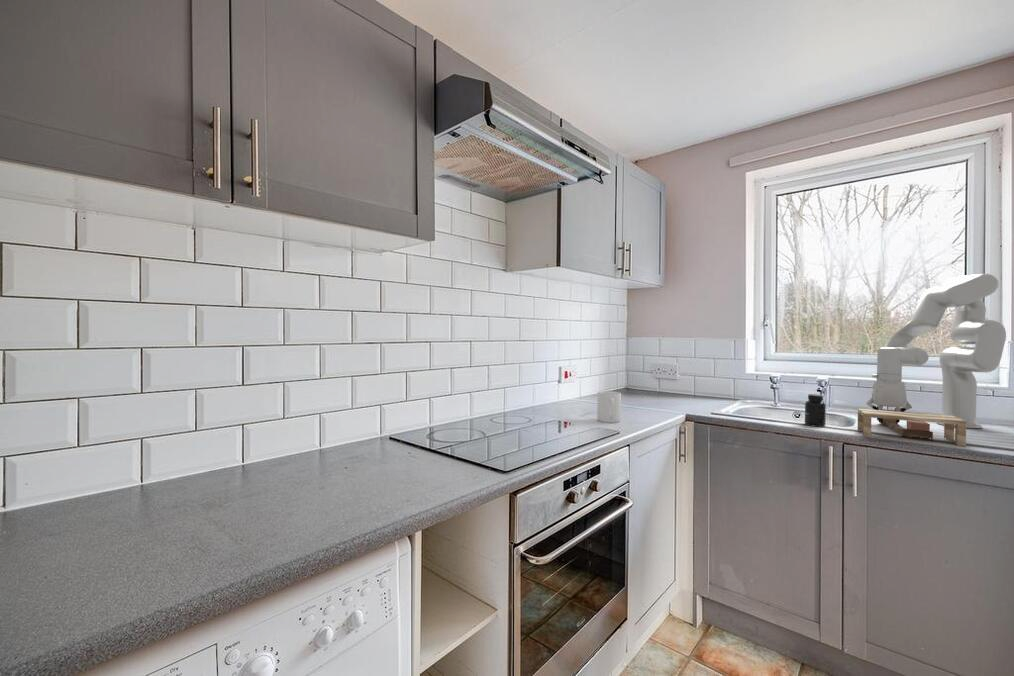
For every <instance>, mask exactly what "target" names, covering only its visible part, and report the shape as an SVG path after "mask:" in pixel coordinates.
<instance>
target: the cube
mask: <svg viewBox="0 0 1014 676" xmlns="http://www.w3.org/2000/svg"><path fill="white" fill-rule="evenodd" d="M930 428H931V423H929V422H922V421H910V420H906V429H911V430H922V431H931V429H930Z"/></svg>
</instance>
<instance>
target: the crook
mask: <svg viewBox="0 0 1014 676" xmlns="http://www.w3.org/2000/svg"><path fill="white" fill-rule="evenodd" d="M882 410H884V411H895V409H887V408H882ZM880 424H881V425H882V426H885V427H888V428H889V429H891V430H892V431H893V432H895V433H896V432H897V433H896V434H898V433H899V434H900V436H901V435H902V436H907V437H906V438H912V437H920V438H919V439H922V438H931V439H930V440H932V439H933V440H934V432H933V431H931V430H930V431H922V430H911V429H907V428H905V427H903V426H902V425H900V424H899V423H898V424H897V423H896V419H885V418H883V423H880ZM899 434H898V435H899ZM902 436H901V437H902Z"/></svg>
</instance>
